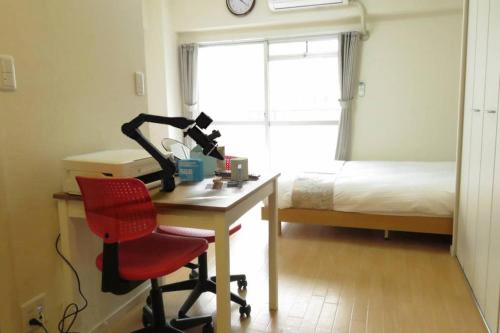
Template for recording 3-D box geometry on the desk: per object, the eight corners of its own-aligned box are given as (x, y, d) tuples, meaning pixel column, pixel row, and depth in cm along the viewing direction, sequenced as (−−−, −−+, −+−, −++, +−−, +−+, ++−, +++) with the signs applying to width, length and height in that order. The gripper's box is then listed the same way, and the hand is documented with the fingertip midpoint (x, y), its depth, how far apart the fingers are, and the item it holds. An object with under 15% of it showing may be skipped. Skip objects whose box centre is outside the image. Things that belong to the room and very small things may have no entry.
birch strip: (217, 172, 181) (215, 146, 179) (217, 171, 183) (216, 146, 181) (225, 171, 181) (224, 146, 179) (225, 171, 183) (224, 146, 181)
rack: (204, 191, 177) (203, 169, 176) (207, 185, 189) (206, 165, 188) (242, 189, 177) (241, 168, 176) (242, 184, 189) (242, 164, 188)
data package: (179, 182, 200) (177, 160, 198) (183, 181, 204) (181, 158, 202) (201, 183, 197) (199, 159, 195) (204, 181, 201) (202, 158, 199)
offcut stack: (212, 188, 178) (212, 180, 178) (214, 183, 188) (214, 176, 187) (221, 187, 178) (221, 180, 178) (223, 183, 188) (222, 176, 187)
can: (235, 178, 204) (233, 156, 202) (251, 179, 201) (250, 156, 199) (228, 182, 196) (227, 159, 194) (245, 182, 193) (244, 159, 191)
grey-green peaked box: (186, 177, 215) (184, 142, 212) (191, 174, 223) (188, 140, 220) (214, 177, 212) (212, 141, 209) (218, 174, 220) (216, 139, 217)
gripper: (208, 125, 169) (234, 149, 171) (212, 123, 188) (236, 144, 189) (191, 143, 171) (217, 167, 172) (197, 140, 189) (220, 161, 191)
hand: (223, 159), depth 181 cm, fingers closed on birch strip, 2 cm apart
